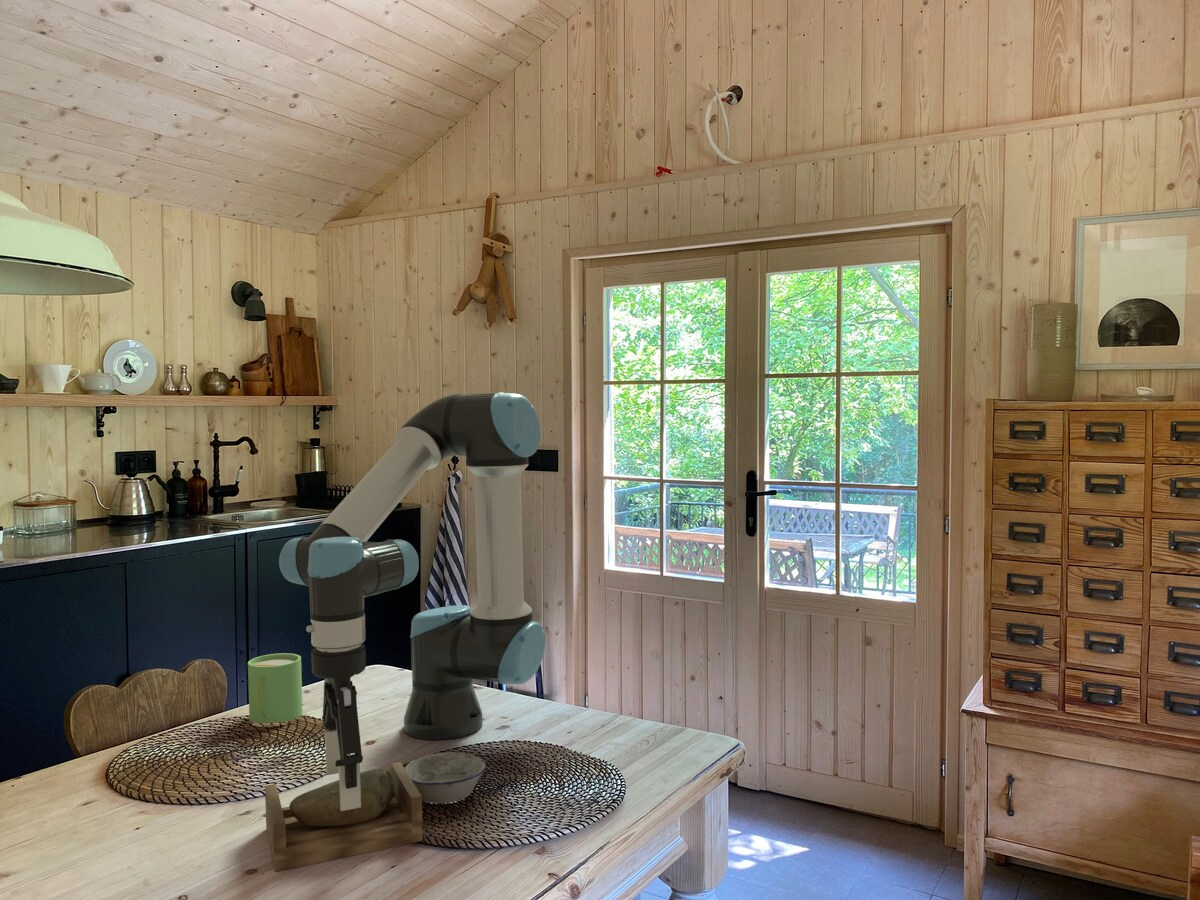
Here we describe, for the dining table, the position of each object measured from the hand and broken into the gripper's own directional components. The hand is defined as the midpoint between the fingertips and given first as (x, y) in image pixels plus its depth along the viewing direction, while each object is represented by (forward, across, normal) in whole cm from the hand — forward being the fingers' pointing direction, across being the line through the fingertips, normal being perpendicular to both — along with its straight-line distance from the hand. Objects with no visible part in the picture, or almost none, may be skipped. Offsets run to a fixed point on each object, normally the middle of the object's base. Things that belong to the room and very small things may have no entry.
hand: (342, 790), depth 131 cm
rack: (+6, 0, 0) cm, 7 cm away
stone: (+4, 0, 0) cm, 4 cm away
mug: (+7, -57, -5) cm, 58 cm away
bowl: (+7, -7, +17) cm, 19 cm away
